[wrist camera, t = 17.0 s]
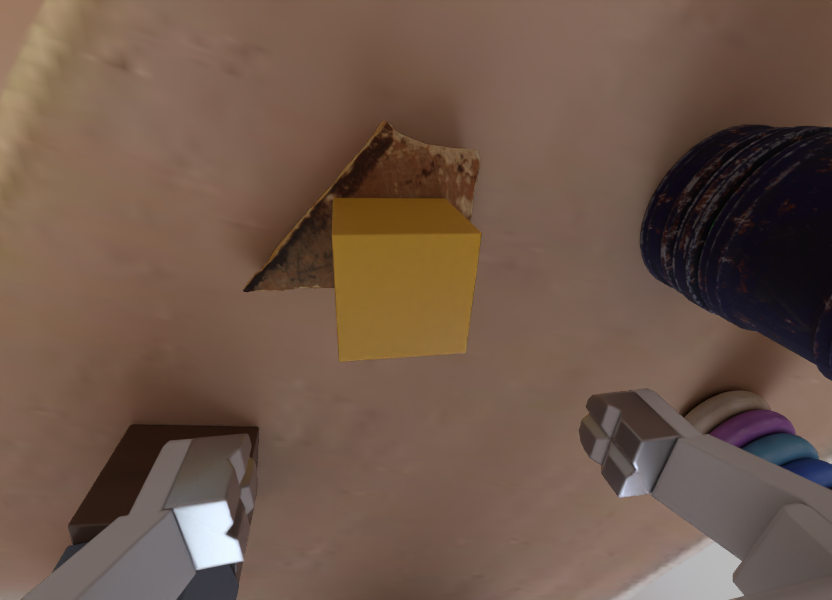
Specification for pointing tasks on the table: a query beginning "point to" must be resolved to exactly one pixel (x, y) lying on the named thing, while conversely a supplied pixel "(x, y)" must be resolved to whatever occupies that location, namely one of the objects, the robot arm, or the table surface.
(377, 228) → the mustard block
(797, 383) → the table surface
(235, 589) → the slate block
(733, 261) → the storage jar
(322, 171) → the table surface
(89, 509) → the walnut block
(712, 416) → the stacking toy
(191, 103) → the table surface
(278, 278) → the shard
